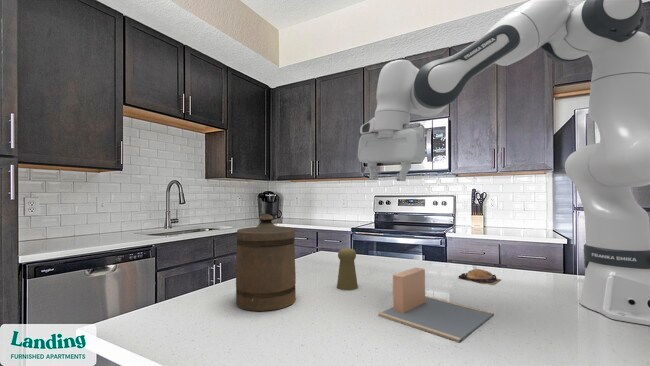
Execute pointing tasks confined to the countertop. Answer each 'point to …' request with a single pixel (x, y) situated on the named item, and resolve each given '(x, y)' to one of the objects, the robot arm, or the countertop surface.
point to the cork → (347, 270)
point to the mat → (441, 318)
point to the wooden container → (265, 266)
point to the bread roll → (480, 277)
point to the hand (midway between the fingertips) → (386, 180)
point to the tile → (408, 289)
